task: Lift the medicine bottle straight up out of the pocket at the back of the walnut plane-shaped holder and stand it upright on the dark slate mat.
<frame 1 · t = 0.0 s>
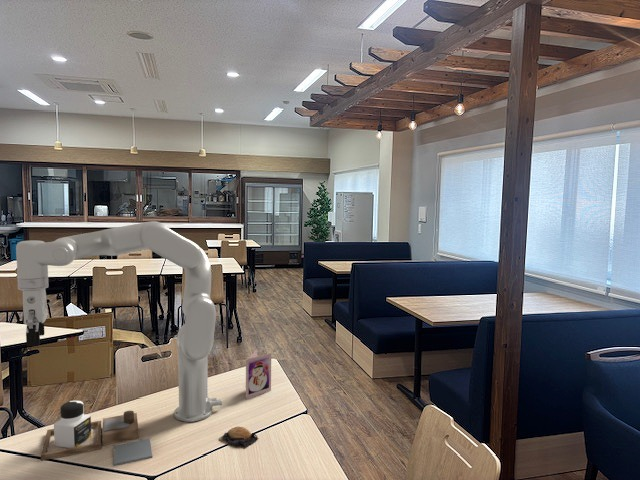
hand: (35, 340, 133), 31 cm above the table, tool pointing down, fingers open, 9 cm apart
medicine bottle: (73, 442, 136), resting in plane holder
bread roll: (238, 441, 139), on the table
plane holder: (73, 441, 136), on the table
greeting card: (254, 392, 172), on the table
slate mat: (132, 452, 131), on the table
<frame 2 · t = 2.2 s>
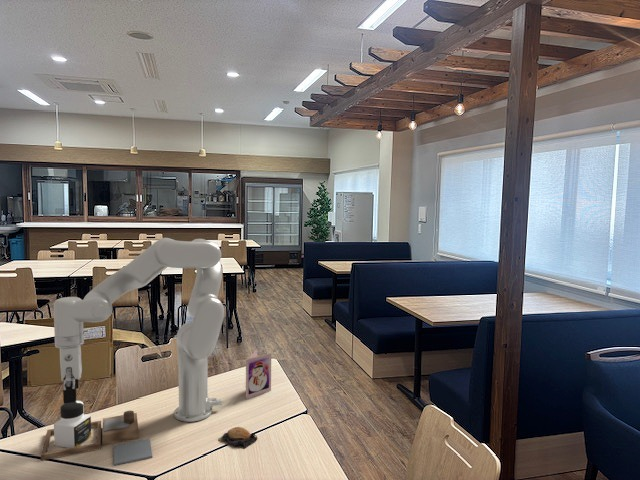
hand: (71, 395, 134), 15 cm above the table, tool pointing down, fingers open, 9 cm apart
nothing on the table moved.
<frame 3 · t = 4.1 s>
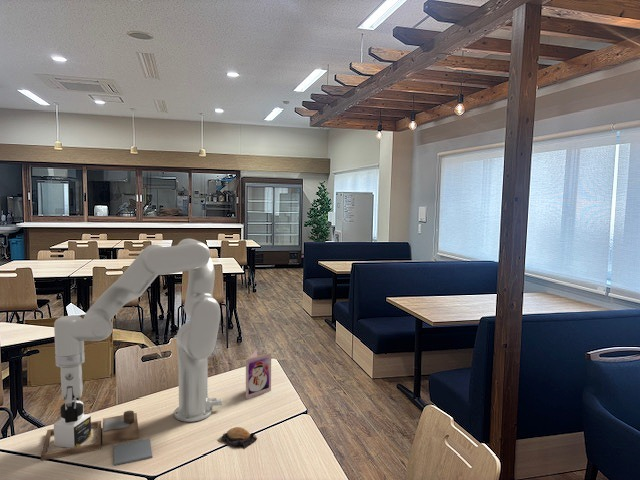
hand: (72, 415, 135), 8 cm above the table, tool pointing down, fingers closed on medicine bottle, 6 cm apart
medicine bottle: (73, 442, 136), resting in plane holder, touching gripper
everything else where it was.
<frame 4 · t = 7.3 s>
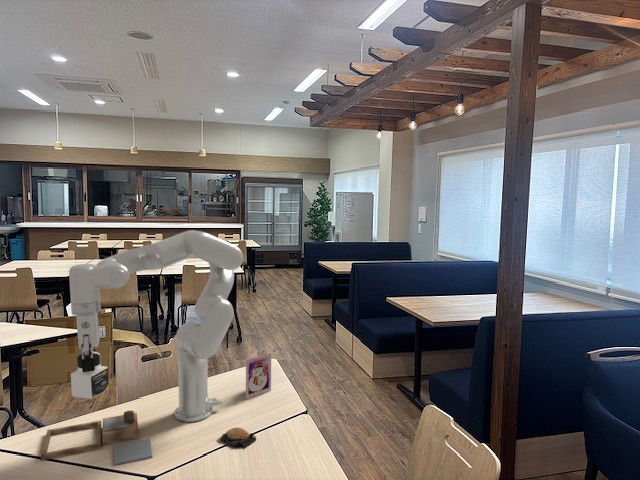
hand: (89, 366, 132), 24 cm above the table, tool pointing down, fingers closed on medicine bottle, 6 cm apart
medicine bottle: (90, 393, 133), point 16 cm above the table, touching gripper
everything else where it was.
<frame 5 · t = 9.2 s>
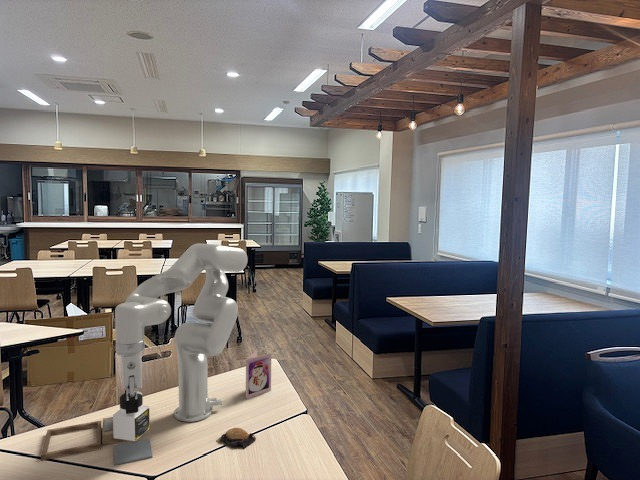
hand: (131, 406, 130), 14 cm above the table, tool pointing down, fingers closed on medicine bottle, 6 cm apart
medicine bottle: (131, 434, 130), point 5 cm above the table, touching gripper
everything else where it was.
when the fingers open (10 cm above the table, at t = 10.5 s): medicine bottle drops 1 cm, resting on slate mat.
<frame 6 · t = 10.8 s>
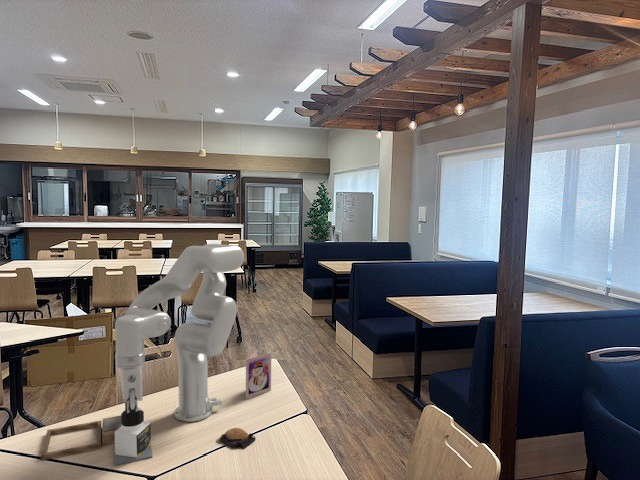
hand: (131, 416, 130), 11 cm above the table, tool pointing down, fingers open, 9 cm apart
medicine bottle: (133, 450, 131), resting on slate mat
everything else where it was.
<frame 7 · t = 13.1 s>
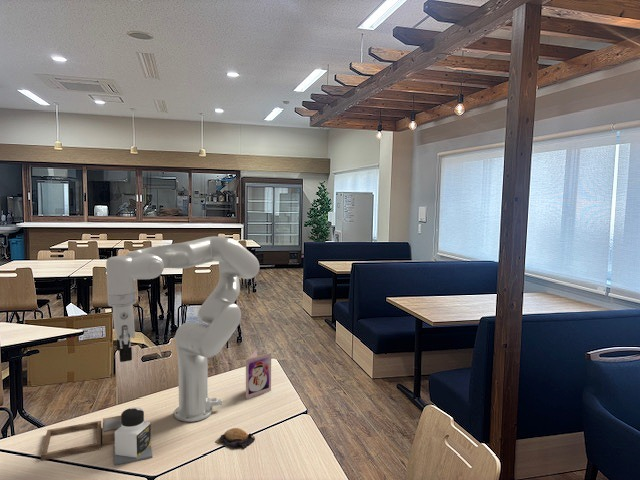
hand: (124, 355, 133), 27 cm above the table, tool pointing down, fingers open, 9 cm apart
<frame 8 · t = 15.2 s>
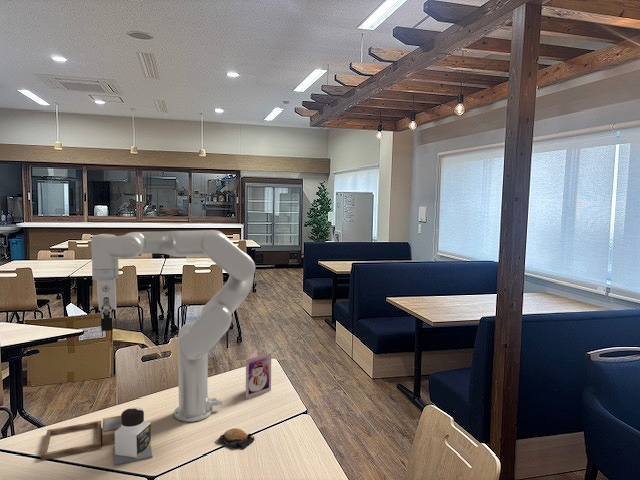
hand: (107, 326, 144), 32 cm above the table, tool pointing down, fingers open, 9 cm apart
at the end: medicine bottle inside the target area on the slate mat (0.3 cm from its centre), point 0.3 cm above the slate mat's base; medicine bottle tilted 0°; the gripper is holding nothing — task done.
